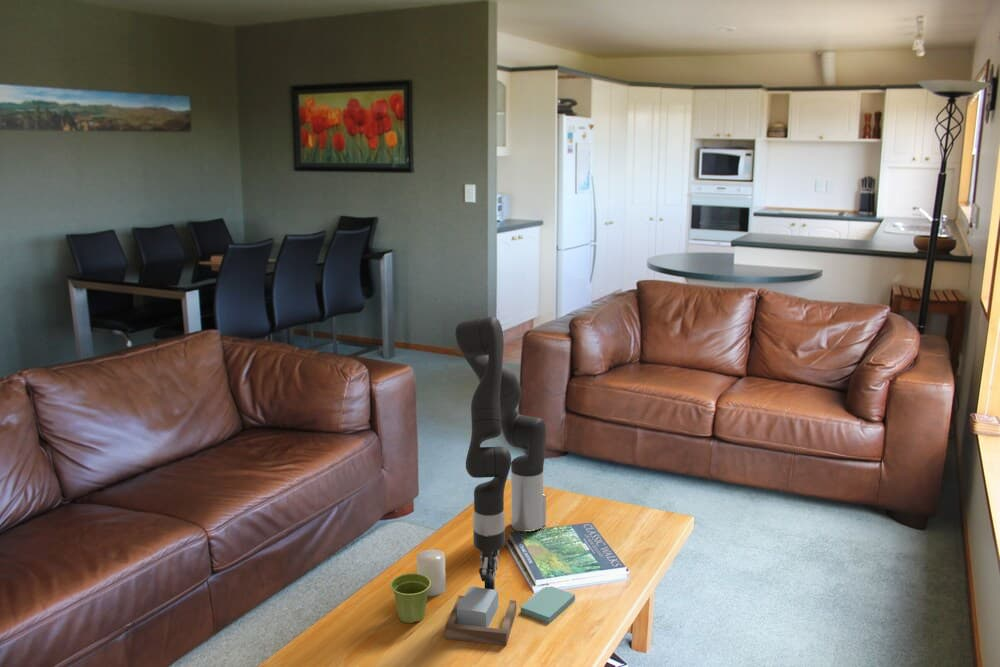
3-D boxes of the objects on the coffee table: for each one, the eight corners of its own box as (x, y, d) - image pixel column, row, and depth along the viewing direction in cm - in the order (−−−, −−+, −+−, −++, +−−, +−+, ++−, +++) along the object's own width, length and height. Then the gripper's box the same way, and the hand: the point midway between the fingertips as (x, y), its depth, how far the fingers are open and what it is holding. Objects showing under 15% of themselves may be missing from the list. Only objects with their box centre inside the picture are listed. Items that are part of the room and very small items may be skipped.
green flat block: (547, 592, 207) (547, 584, 207) (574, 601, 203) (575, 594, 202) (520, 614, 198) (520, 606, 197) (549, 625, 193) (549, 617, 193)
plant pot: (438, 609, 199) (437, 576, 197) (421, 631, 190) (420, 597, 188) (402, 602, 202) (401, 570, 200) (385, 623, 193) (383, 590, 191)
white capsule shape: (436, 578, 213) (435, 546, 211) (451, 590, 207) (450, 557, 205) (412, 587, 209) (411, 554, 207) (426, 599, 203) (425, 566, 201)
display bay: (458, 606, 200) (458, 595, 199) (516, 612, 198) (516, 600, 197) (445, 639, 187) (445, 627, 186) (506, 645, 185) (506, 633, 184)
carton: (470, 604, 201) (470, 586, 200) (498, 608, 199) (498, 590, 198) (457, 627, 192) (456, 608, 191) (486, 632, 190) (486, 612, 189)
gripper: (479, 513, 204) (480, 576, 208) (467, 538, 191) (468, 605, 196) (509, 515, 203) (509, 579, 207) (499, 541, 190) (499, 608, 194)
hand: (489, 592), depth 201 cm, fingers closed
